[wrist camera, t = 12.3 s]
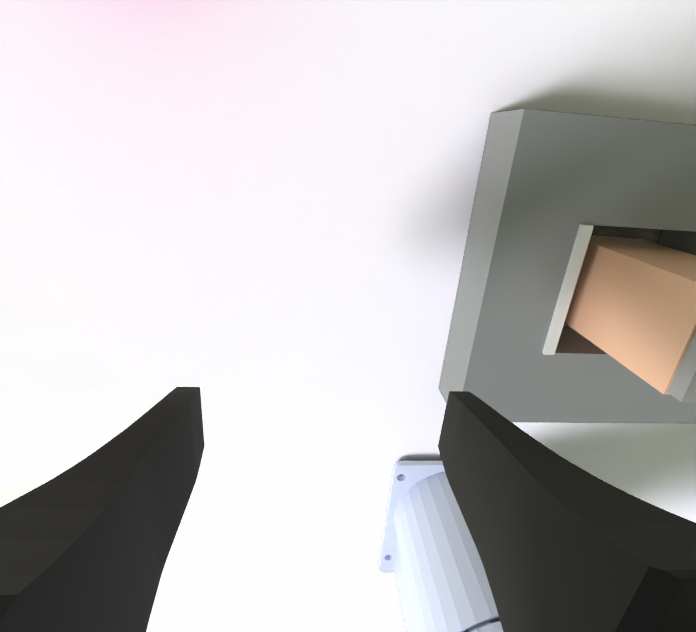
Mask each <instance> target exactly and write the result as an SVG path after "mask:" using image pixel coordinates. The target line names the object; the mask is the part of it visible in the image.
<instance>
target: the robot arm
mask: <svg viewBox="0 0 696 632" xmlns="http://www.w3.org/2000/svg"><path fill="white" fill-rule="evenodd" d="M438 447H439V451H440V455H441V459H442V461H398V462H396V463H395V464H394V466H393V471H392V478H391V484H390V491H389V497H388V504H387V510H386V517H385V523H384V530H383V536H382V543H381V549H380V556H379V562H378V564H379V569H380V571H382V572H394V575H395V580H396V585H397V590H398V595H399V600H400V605H401V610H402V615H403V620H404V625H405V630H406V632H696V523H694V522H692V521H689V520H687V519H684V518H682V517H680V516H677V515H675V514H672V513H670V512H668V511H665V510H663V509H660V508H658V507H656V506H654V505H652V504H649V503H647V502H645V501H643V500H640V499H638V498H636V497H634V496H632V495H630V494H628V493H626V492H624V491H622V490H620V489H618V488H616V487H614V486H612V485H610V484H608V483H606V482H604V481H602V480H600V479H598V478H597V477H595V476H593V475H591V474H590V473H588V472H586V471H584V470H583V469H581V468H579V467H577V466H576V465H574V464H572V463H570V462H569V461H567V460H566V459H564V458H562V457H561V456H559V455H558V454H556V453H554V452H553V451H551V450H550V449H548V448H547V447H545V446H544V445H542V444H541V443H539V442H538V441H537V440H535V439H534V438H532V437H531V436H529V435H528V434H527V433H525V432H524V431H522V430H521V429H520V428H518V427H517V426H516V425H514V424H513V423H511V422H510V421H509V420H507V419H506V418H505V417H503V416H502V415H501V414H500V413H498V412H497V411H496V410H494V409H493V408H492V407H490V406H489V405H488V404H486V403H485V402H484V401H482V400H481V399H479V398H478V397H477V396H475V395H474V394H472V393H471V392H469V391H449V395H448V400H447V405H446V410H445V415H444V420H443V425H442V430H441V435H440V440H439V444H438ZM203 449H204V437H203V423H202V410H201V397H200V387H177V388H175V389H174V390H173V391H172V392H170V393H169V394H168V395H167V396H166V397H164V398H163V399H162V400H161V401H160V402H158V403H157V404H156V405H155V406H154V407H152V408H151V409H150V410H149V411H148V412H146V413H145V414H144V415H143V416H142V417H140V418H139V419H138V420H137V421H135V422H134V423H133V424H132V425H131V426H129V427H128V428H127V429H125V430H124V431H123V432H121V433H120V434H119V435H117V436H116V437H115V438H113V439H112V440H111V441H109V442H108V443H106V444H105V445H104V446H102V447H101V448H100V449H98V450H97V451H96V452H94V453H93V454H91V455H90V456H88V457H87V458H85V459H84V460H82V461H81V462H79V463H78V464H76V465H75V466H73V467H71V468H70V469H68V470H67V471H65V472H63V473H62V474H60V475H58V476H57V477H55V478H54V479H52V480H50V481H48V482H47V483H45V484H43V485H41V486H39V487H38V488H36V489H34V490H32V491H30V492H28V493H26V494H25V495H23V496H21V497H19V498H17V499H15V500H14V501H12V502H10V503H8V504H6V505H4V506H2V507H0V632H146V629H147V625H148V621H149V617H150V614H151V610H152V606H153V603H154V599H155V595H156V592H157V588H158V584H159V581H160V577H161V574H162V571H163V568H164V565H165V562H166V559H167V556H168V553H169V551H170V548H171V545H172V543H173V540H174V538H175V535H176V532H177V530H178V527H179V524H180V522H181V519H182V516H183V514H184V511H185V509H186V506H187V503H188V501H189V498H190V495H191V492H192V490H193V487H194V484H195V482H196V478H197V474H198V470H199V466H200V462H201V458H202V453H203ZM401 474H403V475H402V476H399V475H401Z"/></svg>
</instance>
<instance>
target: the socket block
mask: <svg viewBox="0 0 696 632" xmlns="http://www.w3.org/2000/svg"><path fill="white" fill-rule="evenodd" d="M593 225H600V226H615V227H631V228H646V229H662V233H661V236H660V238H659V241H658V244H660V245H663V246H666V247H669V248H673V249H676V250H679V251H682V252H686V253H689V254H692V255H695V256H696V125H688V124H678V123H667V122H657V121H646V120H636V119H626V118H615V117H605V116H594V115H584V114H574V113H563V112H553V111H542V110H532V109H518V110H511V111H503V112H495V113H491V116H490V121H489V126H488V132H487V137H486V142H485V147H484V153H483V158H482V163H481V168H480V174H479V179H478V184H477V189H476V195H475V200H474V205H473V210H472V216H471V221H470V226H469V231H468V237H467V242H466V247H465V252H464V258H463V263H462V268H461V273H460V279H459V284H458V289H457V294H456V300H455V305H454V310H453V315H452V321H451V326H450V331H449V336H448V342H447V347H446V352H445V357H444V363H443V368H442V373H441V378H440V384H439V390H440V392H441V394H442V396H443V398H444V400H445V401H446V403H447V400H448V395H449V391H469V392H471V393H472V394H474V395H475V396H477V397H478V398H479V399H481V400H482V401H484V402H485V403H486V404H488V405H489V406H490V407H492V408H493V409H494V410H496V411H497V412H498V413H500V414H501V415H502V416H503V417H505V418H506V419H507V420H509V421H510V422H569V423H696V402H680V401H679V400H677V399H676V398H675V397H673V396H672V395H664V394H662V393H661V392H659V391H658V390H657V389H655V388H654V387H652V386H651V385H650V384H648V383H647V382H646V381H644V380H643V379H641V378H640V377H639V376H637V375H636V374H635V373H633V372H632V371H630V370H629V369H628V368H626V367H625V366H624V365H622V364H621V363H619V362H618V361H617V360H615V359H614V358H613V357H611V356H610V355H608V354H607V353H606V352H604V351H603V350H602V349H600V348H599V347H597V346H596V345H595V344H593V343H592V342H590V341H589V340H588V339H586V338H585V337H584V336H582V335H581V334H579V333H578V332H577V331H575V330H574V329H573V328H563V325H564V322H565V319H566V315H567V312H568V309H569V306H570V302H571V299H572V296H573V293H574V289H575V286H576V283H577V280H578V276H579V273H580V270H581V267H582V263H583V260H584V257H585V254H586V250H587V247H588V244H589V241H590V237H591V234H592V231H593V228H594V226H593Z"/></svg>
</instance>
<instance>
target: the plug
mask: <svg viewBox="0 0 696 632" xmlns="http://www.w3.org/2000/svg"><path fill="white" fill-rule="evenodd" d="M564 323H566V324H567V325H568V326H570V327H571V328H573V329H574V330H575V331H577V332H578V333H579V334H581V335H582V336H584V337H585V338H586V339H588V340H589V341H590V342H592V343H593V344H595V345H596V346H597V347H599V348H600V349H602V350H603V351H604V352H606V353H607V354H608V355H610V356H611V357H613V358H614V359H615V360H617V361H618V362H619V363H621V364H622V365H624V366H625V367H626V368H628V369H629V370H630V371H632V372H633V373H635V374H636V375H637V376H639V377H640V378H641V379H643V380H644V381H646V382H647V383H648V384H650V385H651V386H652V387H654V388H655V389H657V390H658V391H659V392H661V393H662V394H664V395H672V396H673V397H675V398H676V399H677V400H679V401H680V402H696V256H695V255H692V254H689V253H686V252H682V251H679V250H676V249H673V248H669V247H666V246H663V245H660V244H656V243H653V242H650V241H647V240H643V239H638V238H624V237H609V236H595V235H591V237H590V241H589V244H588V247H587V250H586V254H585V257H584V260H583V263H582V267H581V270H580V273H579V276H578V280H577V283H576V286H575V289H574V293H573V296H572V299H571V302H570V306H569V309H568V312H567V315H566V319H565V322H564Z"/></svg>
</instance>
